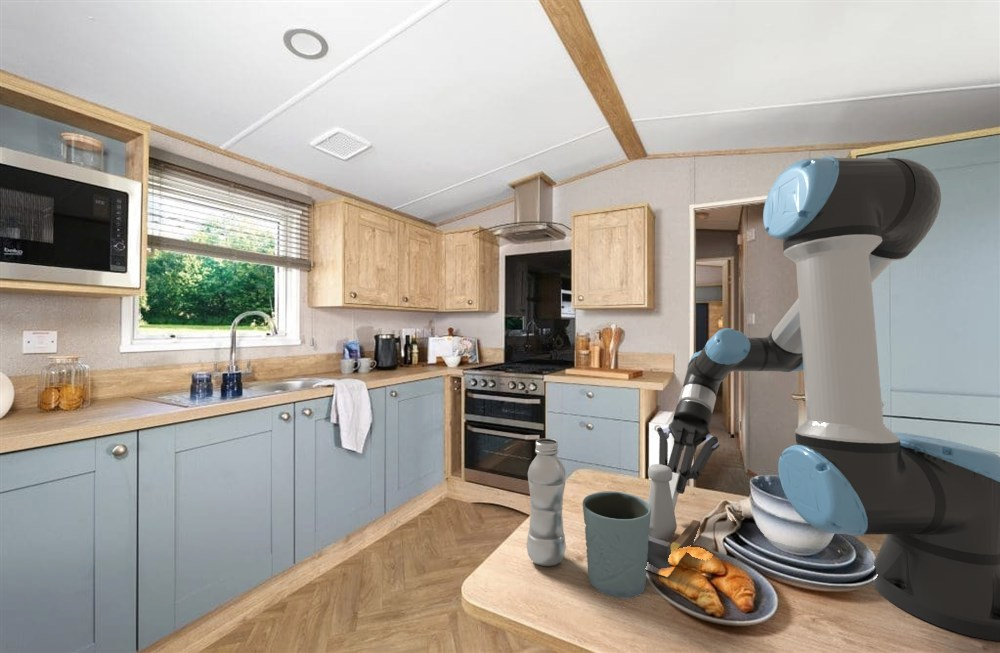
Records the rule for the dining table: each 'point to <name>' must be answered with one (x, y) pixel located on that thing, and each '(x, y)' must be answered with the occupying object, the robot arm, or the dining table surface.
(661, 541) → the dark grey angled piece
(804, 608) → the dining table surface
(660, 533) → the salt shaker
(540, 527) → the plastic bottle
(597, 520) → the green cup
